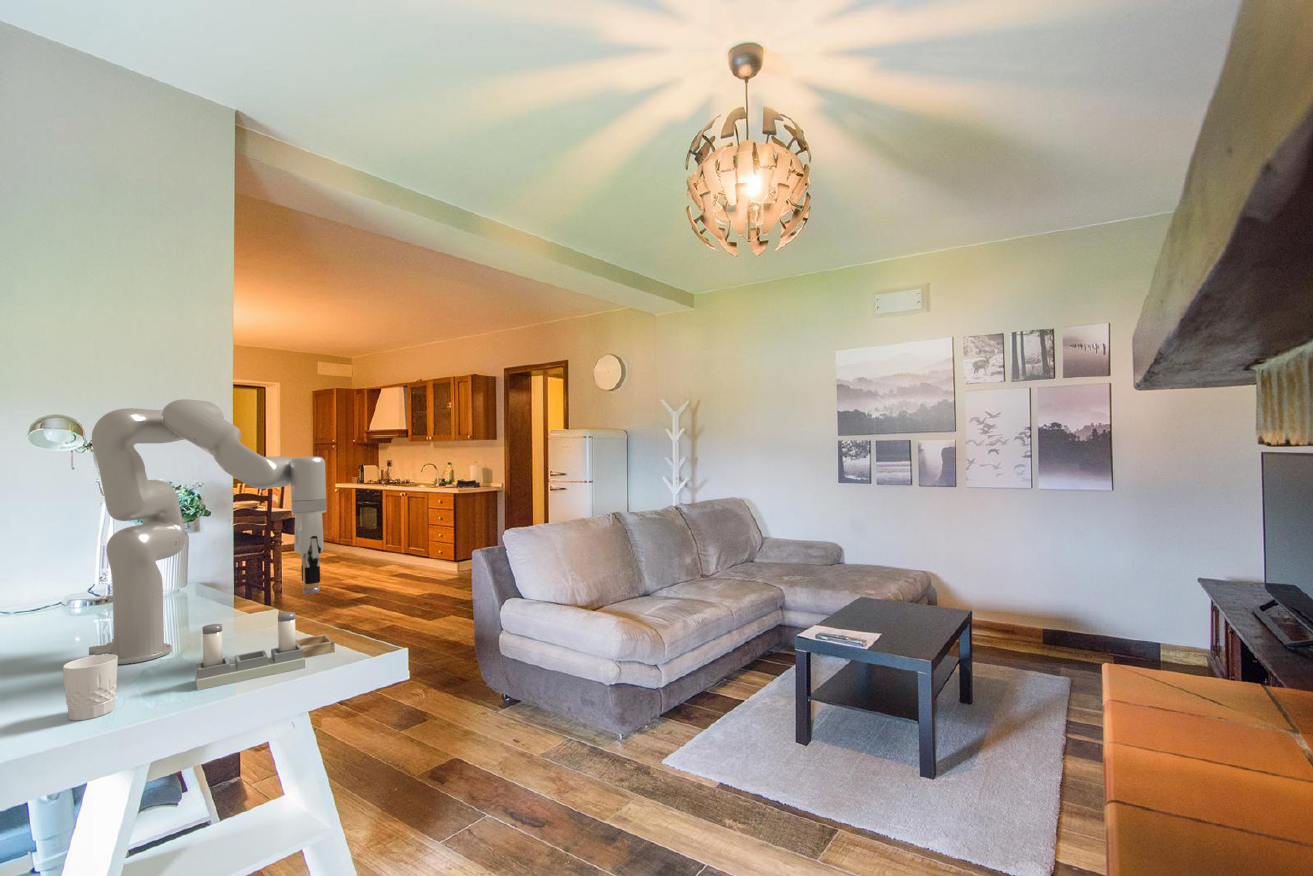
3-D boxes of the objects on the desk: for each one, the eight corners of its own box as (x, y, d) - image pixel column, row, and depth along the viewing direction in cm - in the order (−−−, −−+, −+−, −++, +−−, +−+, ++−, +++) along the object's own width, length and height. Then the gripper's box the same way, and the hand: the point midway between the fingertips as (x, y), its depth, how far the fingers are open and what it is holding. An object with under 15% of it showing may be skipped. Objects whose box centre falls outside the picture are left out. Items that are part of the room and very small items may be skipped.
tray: (295, 659, 152) (295, 649, 152) (288, 650, 159) (288, 641, 159) (334, 651, 158) (334, 641, 158) (326, 643, 164) (326, 634, 164)
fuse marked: (304, 594, 156) (303, 553, 156) (301, 592, 159) (300, 551, 159) (320, 592, 158) (319, 551, 158) (317, 590, 161) (316, 549, 161)
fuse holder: (197, 690, 134) (197, 671, 134) (195, 680, 140) (194, 662, 140) (305, 667, 147) (304, 650, 147) (299, 659, 152) (299, 642, 152)
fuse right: (279, 661, 145) (279, 617, 145) (277, 657, 148) (276, 614, 148) (297, 658, 147) (296, 614, 147) (294, 654, 150) (293, 611, 150)
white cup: (128, 707, 126) (127, 656, 126) (81, 724, 119) (80, 670, 119) (101, 703, 129) (100, 652, 129) (53, 719, 121) (52, 666, 121)
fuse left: (203, 676, 137) (203, 629, 137) (202, 672, 139) (201, 626, 139) (223, 672, 139) (222, 626, 139) (222, 668, 141) (221, 622, 141)
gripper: (285, 506, 163) (287, 579, 163) (298, 510, 150) (300, 590, 150) (318, 503, 167) (320, 574, 167) (333, 508, 154) (335, 585, 154)
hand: (310, 581), depth 158 cm, fingers closed on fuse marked, 3 cm apart
